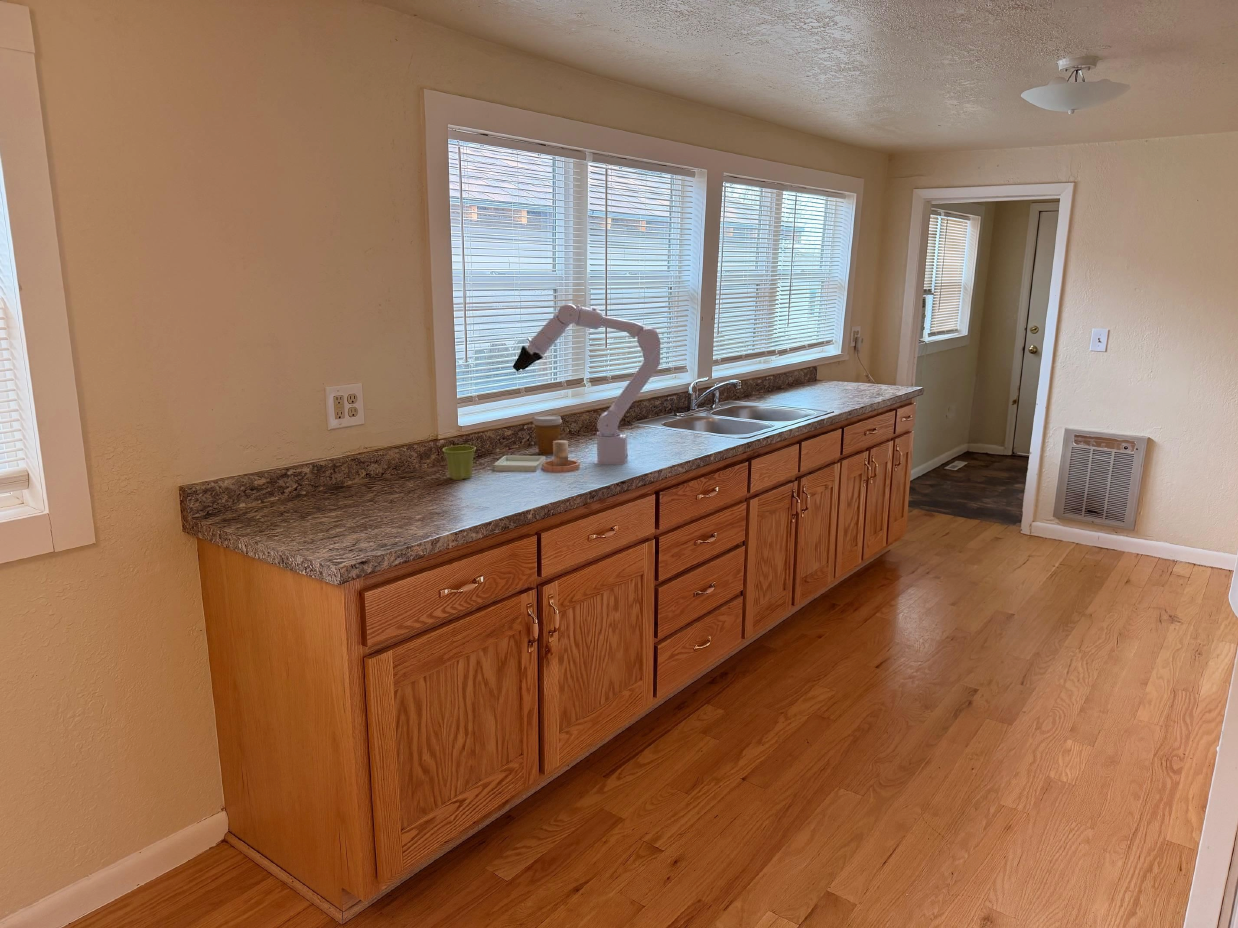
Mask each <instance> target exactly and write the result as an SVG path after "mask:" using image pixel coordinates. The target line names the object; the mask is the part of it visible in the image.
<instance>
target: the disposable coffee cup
mask: <svg viewBox="0 0 1238 928" xmlns="http://www.w3.org/2000/svg"><path fill="white" fill-rule="evenodd" d="M562 422H563V420H562V418H561V415H560V416H559V415H554V414H543V415H536V416H534V418H533V420H532V423H533V424H534V431H535V438H536V443H537V449H538V454H540V455H541V456H546V455H548V456H549V455H552V454H553V441H559V440H560V437H561V426H562V425H561V424H562ZM552 456H553V455H552Z"/></svg>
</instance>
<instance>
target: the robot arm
mask: <svg viewBox="0 0 1238 928" xmlns="http://www.w3.org/2000/svg"><path fill="white" fill-rule="evenodd" d="M571 324H575V326H578V327H581V328H587V329H592V330H599V329H600V328H601V327H603V328H606V329H611V330H616V331H620V332H624V333H627V334H628V335H629V336H630V337H631V338H632V339H636V340H637V344H638V345H639V348H640V350H641V351H642V357H643V362H642V364H640V366H639V368H637V370H636V371H635V373H634V375H633V376H632V378H630V380H629V382H628V383H627V384H626V386H625V387H624V388H623V390H622V391H621V393H620V394H619V395H618V396H617V398H616V399H615V401H614V402H612V403H613V404H611V406H610V407H609V408H608V409H607V410H606V411H604V412H602V413H601V414H600V416H599V418H598V421H597V422H596V427H597V432H596V460H595V461H594V463H593V464H594V465H595V464H596V465H626V464H627V462H628V460H629V458H628V457H629V453H628V435H627V434H621V431H619V429H618V427H619V424H620V421H621V419H622V418H623V416H624V415H625V414H626V412H627V410H628V409H629V408H630V407H631V405H632V404H633V402H634V401H635V400H636V398H638V396H639V394H640V393H641V391H642V390H643V389H644V388H645V386H646V385H647V383H648V382H649V380H650V379H651V378H652V377H653V375H654V374H655V372H656V371H657V369H658V368H659V367H660V365H661V340H660V336H659V333H658V330H656V329H655V328H653V327H651V326H647V325H645V324H642V323H638V322H635V321H632V320H625V319H622V318H621V319H619V318H616V317H611V316H610V317H609V316H604V314H603V312H602V311H601V310H598V308H597V307H593V306H592V308H588V307H583V306H581V305H580V304H576V306H575V305H574V304H570V303H567V304H563V305H560V307H559V308H558V310H557V312H556V313H555V314H554V315H553V317H551V318H550V319H549V320H548V321H547V322H546V323H545V324H544V325H543V326H542V328H541V329H540V330H539V331H538V332H537V333H536V334H535V335H534V336H533V338H531V337H527V338H526V340H527V341H528V344H529V345H528V346H527V347H526V346H525V345H522V346H521V349H520V352H519V354H518V357H517V359H516V360H515V362H514V363H513V365H512V368H513V369H514V370H515V371H516V372H519V371H525V370H526V369H528V368H529V367H530V366H532V365H533V364H534V363H535V362H538V361H540V360H543V359H544V356H545V355H546V353H547V352H548V351H549V349H551V347H552V346H553V345H554V344H555V343H556V342H557V341H558V340H559V338H561V336H563V335H564V333H565V331H566V330H567V329H568V328H569V326H570V325H571Z"/></svg>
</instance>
